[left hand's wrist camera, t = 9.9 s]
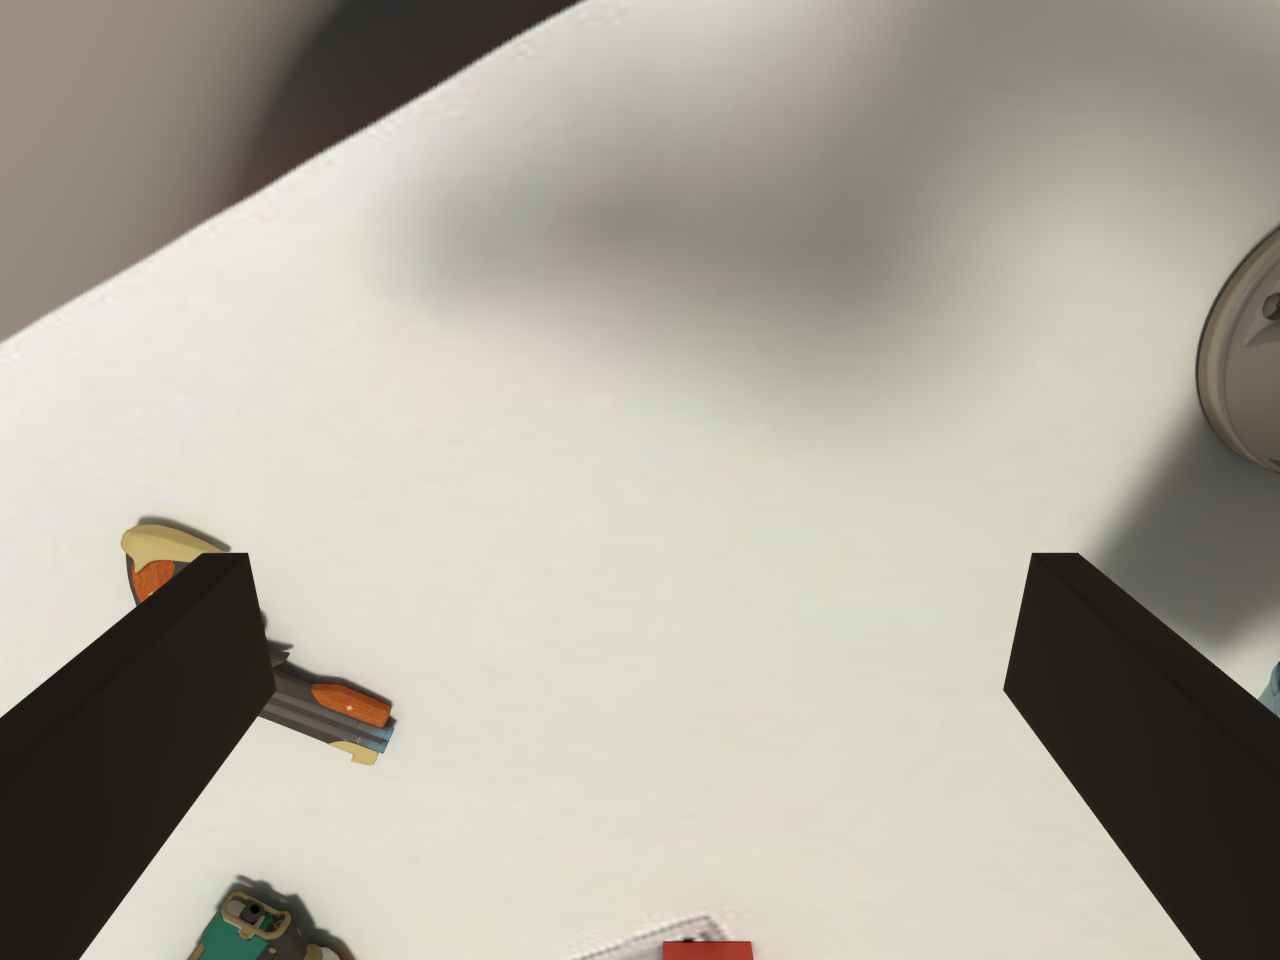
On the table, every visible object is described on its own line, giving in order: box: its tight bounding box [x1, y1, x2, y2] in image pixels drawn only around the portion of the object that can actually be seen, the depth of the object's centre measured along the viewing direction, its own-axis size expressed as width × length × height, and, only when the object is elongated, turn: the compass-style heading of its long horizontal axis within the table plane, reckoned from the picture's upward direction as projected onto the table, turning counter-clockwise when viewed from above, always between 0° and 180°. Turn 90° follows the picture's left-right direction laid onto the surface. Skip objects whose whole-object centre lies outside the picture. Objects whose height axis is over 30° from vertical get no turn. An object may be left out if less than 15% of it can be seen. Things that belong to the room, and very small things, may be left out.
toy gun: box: [121, 524, 394, 765], centre depth 46 cm, size 3×19×10 cm
